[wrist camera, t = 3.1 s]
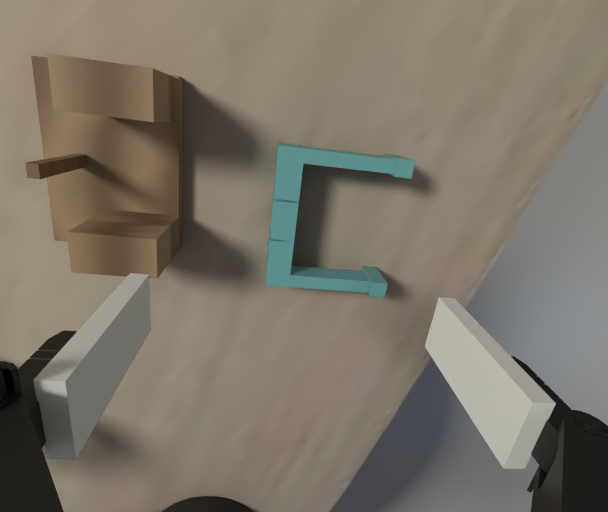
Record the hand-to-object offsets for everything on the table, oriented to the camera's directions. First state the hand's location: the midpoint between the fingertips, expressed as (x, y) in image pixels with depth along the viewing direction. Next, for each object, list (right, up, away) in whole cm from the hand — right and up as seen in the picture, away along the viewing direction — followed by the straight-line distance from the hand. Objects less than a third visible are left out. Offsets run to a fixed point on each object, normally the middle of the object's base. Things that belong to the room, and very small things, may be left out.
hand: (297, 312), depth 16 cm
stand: (-16, +11, +16) cm, 25 cm away
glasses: (+3, +6, +19) cm, 20 cm away
